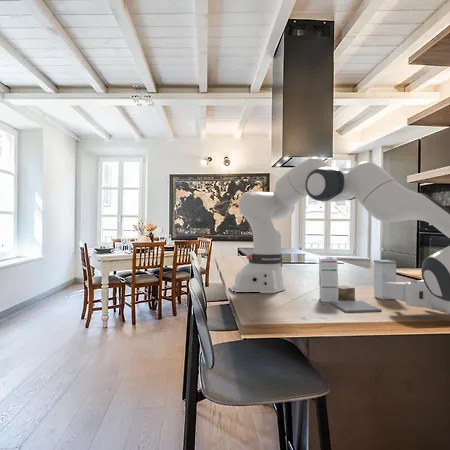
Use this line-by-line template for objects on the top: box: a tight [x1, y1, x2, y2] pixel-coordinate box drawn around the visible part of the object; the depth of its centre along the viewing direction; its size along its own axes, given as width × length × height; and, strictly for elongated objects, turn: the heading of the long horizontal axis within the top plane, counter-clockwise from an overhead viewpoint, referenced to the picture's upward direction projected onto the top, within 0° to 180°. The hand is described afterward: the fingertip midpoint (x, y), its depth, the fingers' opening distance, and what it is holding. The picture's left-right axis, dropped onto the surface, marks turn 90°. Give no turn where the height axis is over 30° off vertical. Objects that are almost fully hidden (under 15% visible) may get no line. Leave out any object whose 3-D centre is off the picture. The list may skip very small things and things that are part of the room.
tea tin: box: [373, 259, 397, 301], centre depth 113 cm, size 5×5×13 cm
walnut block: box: [338, 284, 356, 301], centre depth 114 cm, size 5×5×4 cm
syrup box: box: [318, 256, 339, 303], centre depth 110 cm, size 6×6×14 cm
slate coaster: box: [329, 300, 382, 314], centre depth 100 cm, size 11×11×1 cm
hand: (405, 284), depth 102 cm, fingers open, 8 cm apart
